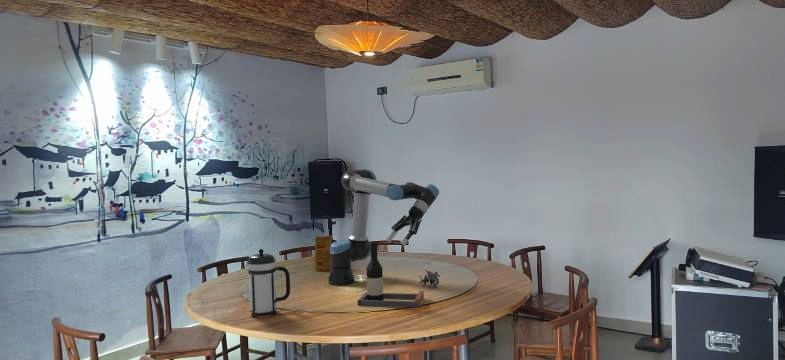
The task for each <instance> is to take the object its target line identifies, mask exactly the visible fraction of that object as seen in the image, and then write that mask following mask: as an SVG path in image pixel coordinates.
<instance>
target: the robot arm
mask: <svg viewBox="0 0 785 360" xmlns="http://www.w3.org/2000/svg"><path fill="white" fill-rule="evenodd" d="M340 182H341V185H342V187H343V188H344V189H345V190H347V191H351V193H352V194H353V196H354V197H353V209H352V210H353V211H352V223H351V234H350V235H349V236H348V239H342V240H337V241H334V242H332V244H331V246H330V258H331V270H329V271H330V272H329V275H328V278H327V283H328V284H329V285H333V286H347V285H352V284H353V283H355V281H356V279H355V275H354V273H353V270H352V269H353V268H352V263H354V262H358V261H363V260H366V259H367V258H369V257H370V256H371V242H370V241H369V237H368V236H367V227H368V215H369V214H368V213H369V199H370V196H371V195H372V194H373V195H377V196H380V197H381V196H382V197H384V198H385V197H386V198H388V199H389V200H390V201H400V200H407V199H408V200H409V199H415V200H416V201H415V202H414V204H412V206H411V207H410V209H409V210H408V215H407V216H406V215H403V216H402V218H400V219H399V220H398V221H397V222H395V224H394V225H392V226H391V229H392V230H391V232H390V233H389V234H388V236H387V237H386V238H385V240H386V242H388V244H390V243H391V242H392V240H394V238H395V236H396V235H397V233H398V231H400V230H402V229H403V228H405V227H407V226H409V229H408V231H407V232H406V233H405V235H404V236H403V237H402V239H401V240H400V242H399V243H400V244H401V245H402V246H405V245H406V244H407V243H408V241H409V240H410V239H411V237H412V236H414V235H417V233H418V231H419V228H420V225H421V222H422V218H423V217H424V215H425V214H426V212H427V211H428V210H429V209H430V207H431V206H432V205H433V203H434V202H435V201H436V200H437V198H438V196H439V195H440V189H438V187H437V186H435V185H434V184H432V183H430V184H428V185H426V187H425V186H422V185H419V184H417V183H414V182H411V181H408V182H406V183H404V184H395V183H392V182H386V181H382V180H378V179H377V176H376V174H375V173H374V172H373V171H372V170H370V169H350V170H347V171H346V172H344V173H343V175H342V176H341V181H340Z"/></svg>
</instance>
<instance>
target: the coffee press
mask: <svg viewBox="0 0 785 360" xmlns="http://www.w3.org/2000/svg"><path fill="white" fill-rule="evenodd" d="M264 252H265V251H264V249H263V248H260V249H259V250H258V253H256V254H253V255H251V256H249V257H248V259H247V260H246V263H245V265H244V267H243V268H247V274H248V292H249V293H248V294H249V297H248V298H249V311H250V312H251V314H250V316H251V317H252V318H256V316H257V314H265V313H267V314H268V313H270V314H272V316H275V315H277V313H278V312H277V310H276V308H277V302H283V301H285V300H287V299H288V298H289V296H290V294H291V277H290V272H289V270H288V269H287V268H286V267H285V266H276V262H277V261H276V258H275V255H273V254H270V253H264ZM277 271H281V272H283V273H284V275H285V288H286V289H285V294H284V295H283V296H279V297H277V290H276V289H277V288H276V286H277V284H276V272H277Z"/></svg>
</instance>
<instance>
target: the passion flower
mask: <svg viewBox="0 0 785 360" xmlns="http://www.w3.org/2000/svg"><path fill="white" fill-rule="evenodd" d="M425 272H426V274H425V275H424V279H423V278H422V276H421V275H420V276H419V279H420V280H421V281H419V285H420V284H422V287H424V286H425V285H426V283H427V284H430V286H432V285H433V286H434V288H435V289H439V285H440V284H439V283H440V279H439V278H440V277H441V276H440V274H439V273H438V272H437V271H434V272H433V271H431V270H427V269H425Z"/></svg>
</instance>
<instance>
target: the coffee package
mask: <svg viewBox="0 0 785 360" xmlns="http://www.w3.org/2000/svg"><path fill="white" fill-rule="evenodd" d="M332 240H333V236H332V235H324V236H321V235H315V239H314V242H315V245H314V246H315V249H314V252H315V253H314V257H313V265H314V271H315V272H320V271H323V272H325V271H328V272H329V271H331V258H330V246H331V244H332V243H333V241H332Z"/></svg>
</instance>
